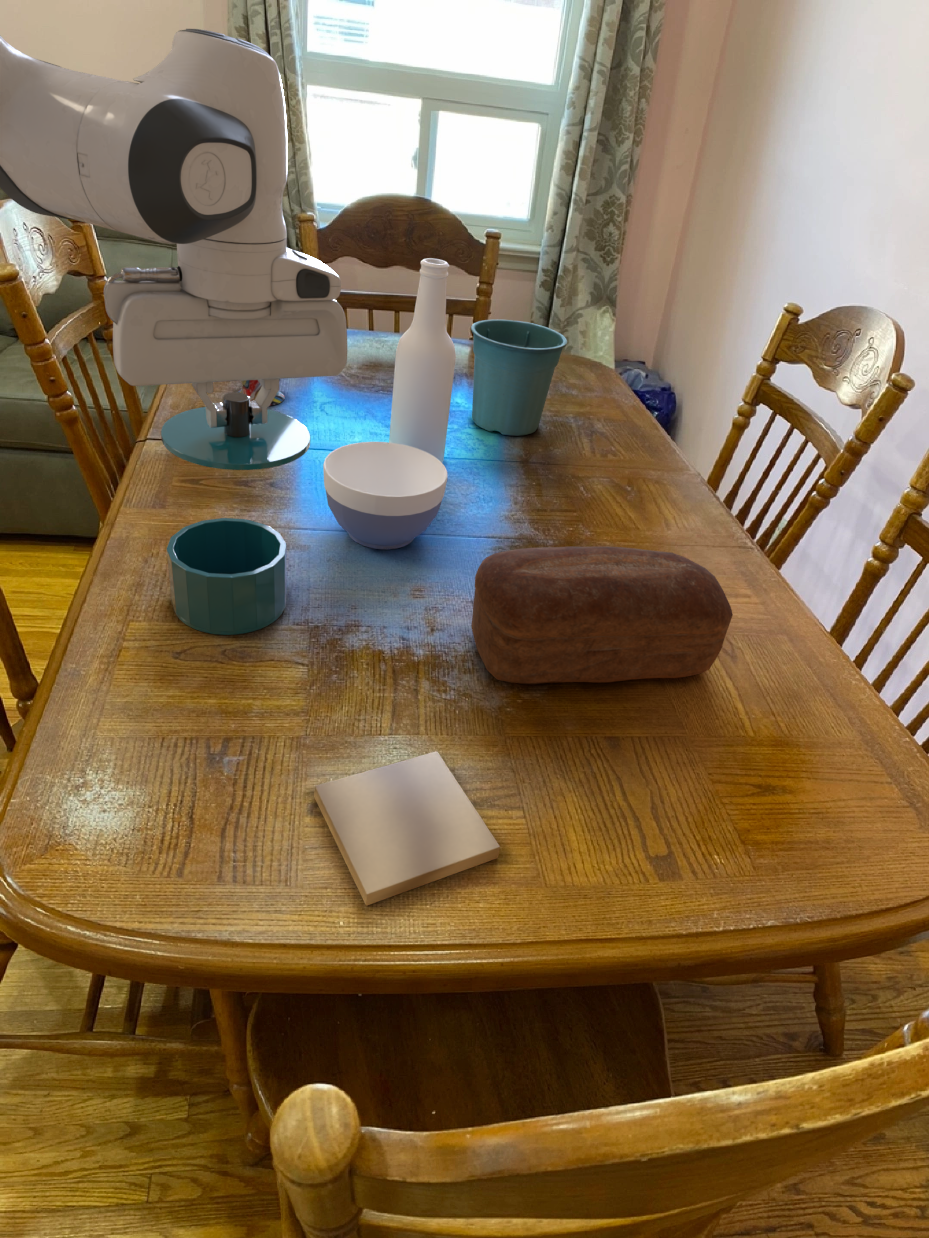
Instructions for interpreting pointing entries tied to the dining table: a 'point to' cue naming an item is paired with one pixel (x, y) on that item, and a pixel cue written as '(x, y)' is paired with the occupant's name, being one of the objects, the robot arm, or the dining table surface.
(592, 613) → the bread
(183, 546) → the pot
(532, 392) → the flower pot
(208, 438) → the pot lid
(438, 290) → the alcohol
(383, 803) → the board
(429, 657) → the dining table surface
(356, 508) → the bowl
